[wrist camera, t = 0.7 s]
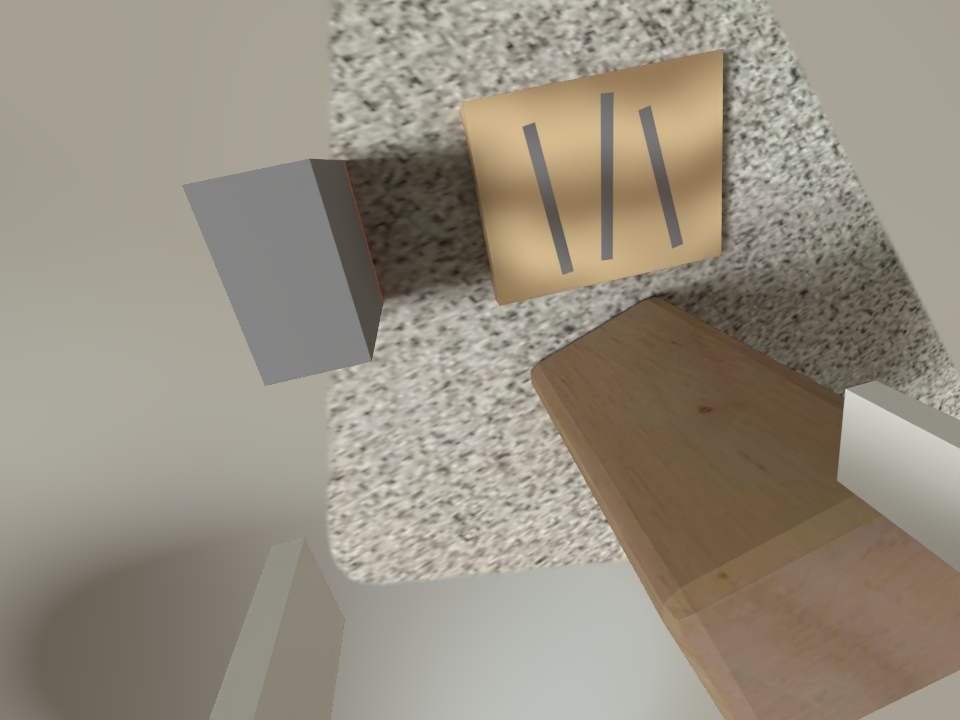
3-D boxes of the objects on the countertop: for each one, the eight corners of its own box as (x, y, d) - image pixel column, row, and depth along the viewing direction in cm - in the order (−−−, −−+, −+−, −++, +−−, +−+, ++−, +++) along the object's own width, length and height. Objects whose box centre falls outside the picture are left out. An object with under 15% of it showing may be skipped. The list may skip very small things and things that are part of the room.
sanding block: (262, 177, 26) (182, 185, 17) (344, 160, 26) (309, 158, 17) (310, 315, 29) (265, 385, 20) (383, 299, 29) (371, 361, 20)
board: (459, 105, 26) (462, 102, 25) (706, 54, 27) (723, 48, 25) (495, 299, 30) (499, 305, 29) (707, 251, 31) (721, 255, 30)
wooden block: (653, 287, 31) (993, 460, 13) (703, 400, 35) (1019, 657, 17) (521, 365, 32) (667, 631, 14) (584, 468, 36) (762, 781, 18)
